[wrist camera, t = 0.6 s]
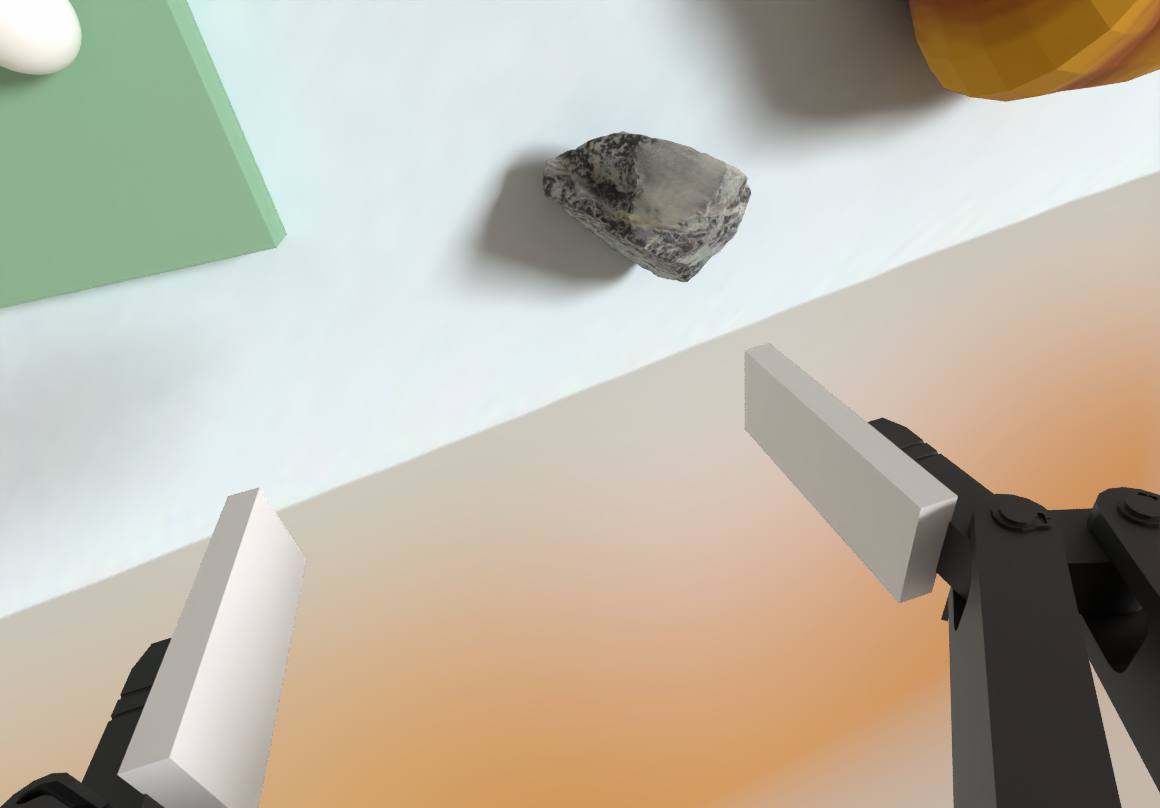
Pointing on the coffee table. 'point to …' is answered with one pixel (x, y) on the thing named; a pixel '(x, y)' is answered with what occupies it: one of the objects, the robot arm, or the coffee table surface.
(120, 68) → the green
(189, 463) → the coffee table surface
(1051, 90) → the decorative pumpkin
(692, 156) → the stone
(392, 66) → the coffee table surface
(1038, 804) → the robot arm
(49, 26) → the ball
